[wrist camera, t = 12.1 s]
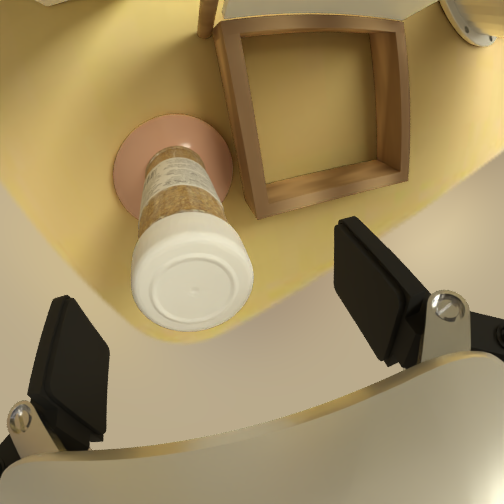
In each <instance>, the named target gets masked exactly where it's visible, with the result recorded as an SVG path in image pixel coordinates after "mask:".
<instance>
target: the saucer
mask: <svg viewBox="0 0 504 504" xmlns="http://www.w3.org/2000/svg"><path fill="white" fill-rule="evenodd" d="M170 146H183V147H187V148H189V149H191V150H193V151H194V152H196V153H197V154H198V155H199V156H200V158H201V159H202V161H203V163H204V165H205V169H206V172H207V174H208V175H209V178H210V180H211V182H212V184H213V186H214V188H215V191H216V193H217V195H218V197H219V199H220V201H221V203H222V202H223V200H224V199H225V197H226V195H227V193H228V191H229V188H230V185H231V182H232V176H233V163H232V157H231V154H230V151H229V148H228V146H227V144H226V142H225V141H224V139H223V138H222V136H221V135H220V134H219V133H218V132H217V131H216V130H215V129H214V128H213V127H212V126H211V125H209V124H208V123H206V122H205V121H203V120H201V119H198V118H196V117H193V116H189V115H184V114H167V115H162V116H158V117H155V118H152V119H150V120H148V121H146V122H144V123H142V124H141V125H139V126H138V127H137V128H135V129H134V130H133V131H132V132H131V133H130V134H129V135H128V137H127V138H126V139H125V141H124V142H123V144H122V146H121V147H120V149H119V151H118V154H117V156H116V160H115V163H114V170H113V179H114V186H115V189H116V193H117V195H118V197H119V200H120V201H121V203H122V204H123V206H124V207H125V208H126V210H127V211H128V212H129V213H130V214H131V215H133V216H134V217H135V218H137V219H138V220H139V215H140V207H141V199H142V193H143V187H144V182H145V172H146V167H147V165H148V163H149V161H150V160H151V159H152V157H153V156H154V155H155V154H156V153H157V152H159V151H160V150H162V149H164V148H167V147H170Z"/></svg>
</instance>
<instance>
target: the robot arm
mask: <svg viewBox="0 0 504 504" xmlns="http://www.w3.org/2000/svg"><path fill="white" fill-rule="evenodd" d="M439 1H440V3H441V6H442V8H443V10H444V12H445V14H446V16H447V18H448V19H449V21H450V23H451V24H452V26H453V27H454V28H455V30H456V31H457V32H458V33H459V34H460V35H461V37H462V38H463V39H465V40H466V41H467V42H469V43H470V44H473V45H475V46H481V47H488V46H490V45H492V43H493V42H494V41H495V40H496V38H497V37H501V38H504V0H439ZM334 288H335V290H336V293H337V294H338V296H339V297H340V299H341V300H342V302H343V303H344V305H345V307H346V308H347V310H348V311H349V313H350V315H351V316H352V318H353V319H354V321H355V322H356V324H357V325H358V327H359V329H360V330H361V332H362V333H363V335H364V337H365V338H366V340H367V342H368V343H369V345H370V347H371V348H372V350H373V351H374V353H375V355H376V356H377V358H378V359H379V360H380V361H383V360H384V362H385V363H386V365H387V367H389V366H392V365H393V364H396V363H398V362H399V363H400V365H401V367H403V371H401V372H399V373H397V374H395V375H393V376H390V377H388V378H386V379H384V380H381V381H379V382H377V383H374V384H372V385H370V386H367V387H365V388H362V389H360V390H358V391H355V392H353V393H350V394H348V395H345V396H343V397H340V398H338V399H335V400H332V401H330V402H327V403H324V404H322V405H319V406H316V407H313V408H310V409H307V410H304V411H302V412H298V413H295V414H292V415H289V416H285V417H282V418H279V419H275V420H272V421H268V422H265V423H261V424H258V425H254V426H250V427H246V428H242V429H238V430H234V431H230V432H225V433H221V434H216V435H212V436H206V437H201V438H196V439H190V440H185V441H179V442H172V443H166V444H158V445H151V446H142V447H133V448H122V449H108V450H92V449H91V448H90V447H89V445H90V443H89V442H100V441H103V434H104V433H105V432H106V413H107V412H106V411H107V385H108V369H109V356H110V352H109V347H108V345H107V344H106V342H105V341H104V340H103V338H102V337H101V336H100V334H99V333H98V332H97V330H96V329H95V328H94V326H93V325H92V323H91V322H90V321H89V319H88V318H87V316H86V315H85V314H84V312H83V311H82V309H81V308H80V306H79V305H78V303H77V302H76V300H75V299H74V298H70V297H69V296H68V295H65V296H61V297H58V298H55V299H53V301H52V303H51V306H50V309H49V312H48V316H47V319H46V322H45V325H44V328H43V332H42V335H41V338H40V342H39V346H38V350H37V353H36V357H35V361H34V366H33V370H32V374H31V378H30V383H29V388H28V393H27V395H28V396H29V397H30V398H31V401H30V402H28V401H26V400H22V401H19V402H17V403H16V404H15V405H14V406H13V407H12V408H11V410H10V412H9V414H8V418H7V428H8V431H9V435H8V436H7V437H6V438H5V440H4V441H3V442H2V443H1V444H0V504H504V319H500V318H496V317H492V316H487V315H483V314H479V313H475V312H471V311H470V310H469V305H468V304H467V302H466V301H465V299H464V298H463V297H462V296H461V295H459V294H457V293H456V292H453V291H449V290H440V291H436V292H435V293H433V294H430V293H429V291H428V290H427V289H426V288H425V287H424V286H423V285H422V284H421V282H420V281H419V280H418V279H417V278H416V277H415V276H414V275H413V274H412V273H411V272H410V270H409V269H408V268H407V267H406V266H405V265H404V264H403V263H402V262H401V261H400V260H399V259H398V258H397V257H396V255H395V254H394V253H393V252H392V251H391V250H390V249H389V248H387V247H386V246H385V245H384V244H383V243H382V242H381V241H380V240H379V239H378V238H377V237H376V236H375V235H374V234H373V233H372V232H371V231H370V230H369V229H368V228H367V227H366V226H365V225H364V224H363V223H362V222H361V221H360V220H359V219H358V218H357V217H356V216H352V217H349V218H345V219H341V220H339V222H338V225H336V226H335V227H334Z"/></svg>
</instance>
